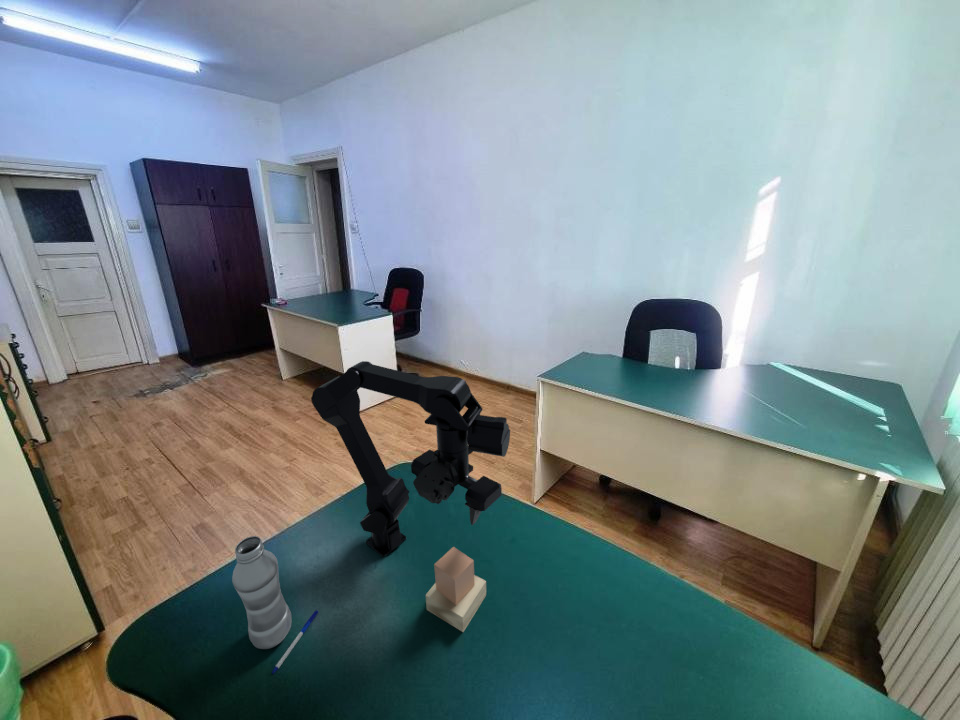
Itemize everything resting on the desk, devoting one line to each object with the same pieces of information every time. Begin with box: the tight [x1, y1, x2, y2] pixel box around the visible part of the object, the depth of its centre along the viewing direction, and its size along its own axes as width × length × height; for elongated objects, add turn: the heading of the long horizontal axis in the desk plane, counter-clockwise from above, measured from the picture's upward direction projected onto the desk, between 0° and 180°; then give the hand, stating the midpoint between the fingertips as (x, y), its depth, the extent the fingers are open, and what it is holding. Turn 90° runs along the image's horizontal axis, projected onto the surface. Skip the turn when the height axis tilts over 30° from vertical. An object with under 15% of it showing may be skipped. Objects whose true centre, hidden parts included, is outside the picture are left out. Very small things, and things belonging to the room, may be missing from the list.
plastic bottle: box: [231, 535, 292, 650], centre depth 61 cm, size 6×7×20 cm
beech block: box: [425, 574, 487, 633], centre depth 69 cm, size 8×8×4 cm
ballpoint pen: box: [271, 609, 319, 675], centre depth 63 cm, size 10×1×1 cm, turn 166°
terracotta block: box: [433, 546, 475, 605], centre depth 67 cm, size 5×5×6 cm
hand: (455, 512), depth 74 cm, fingers open, 9 cm apart
